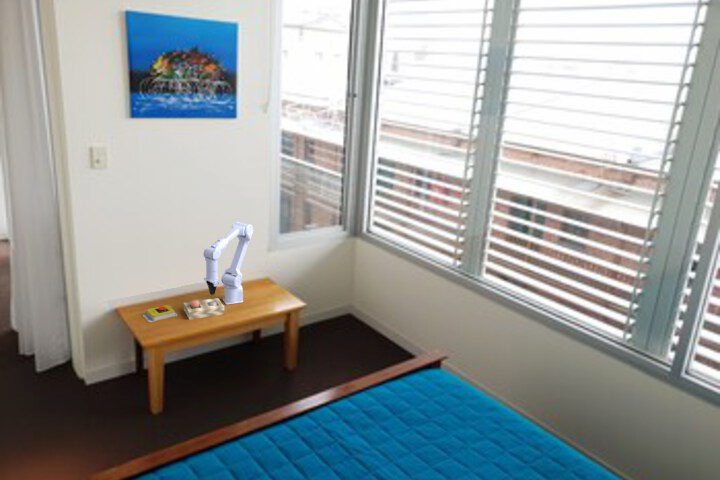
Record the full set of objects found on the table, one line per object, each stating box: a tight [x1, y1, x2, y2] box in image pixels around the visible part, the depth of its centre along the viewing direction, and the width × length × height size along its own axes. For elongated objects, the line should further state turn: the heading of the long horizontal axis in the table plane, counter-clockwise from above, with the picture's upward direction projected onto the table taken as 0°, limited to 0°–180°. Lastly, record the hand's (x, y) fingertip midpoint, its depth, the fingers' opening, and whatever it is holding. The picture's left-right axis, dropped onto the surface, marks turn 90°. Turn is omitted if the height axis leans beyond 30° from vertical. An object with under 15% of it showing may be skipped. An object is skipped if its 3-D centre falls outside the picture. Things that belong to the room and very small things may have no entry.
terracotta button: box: [190, 298, 200, 309], centre depth 291 cm, size 4×4×4 cm
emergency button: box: [142, 304, 178, 323], centre depth 287 cm, size 9×4×15 cm
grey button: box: [209, 301, 217, 306], centre depth 296 cm, size 4×4×4 cm
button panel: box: [183, 297, 226, 320], centre depth 294 cm, size 18×12×4 cm, turn 119°
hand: (212, 294), depth 294 cm, fingers closed
